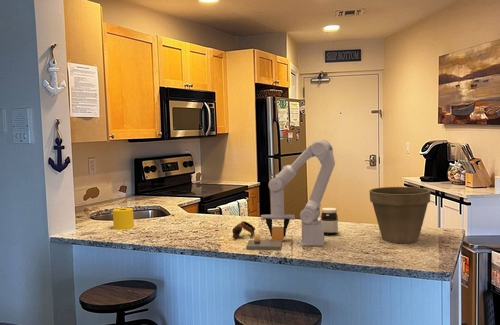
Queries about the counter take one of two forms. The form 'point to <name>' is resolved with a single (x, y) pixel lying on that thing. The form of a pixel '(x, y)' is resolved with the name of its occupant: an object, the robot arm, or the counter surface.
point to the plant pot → (400, 212)
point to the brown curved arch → (245, 226)
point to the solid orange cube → (278, 233)
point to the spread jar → (329, 221)
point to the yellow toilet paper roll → (123, 218)
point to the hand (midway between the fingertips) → (278, 236)
